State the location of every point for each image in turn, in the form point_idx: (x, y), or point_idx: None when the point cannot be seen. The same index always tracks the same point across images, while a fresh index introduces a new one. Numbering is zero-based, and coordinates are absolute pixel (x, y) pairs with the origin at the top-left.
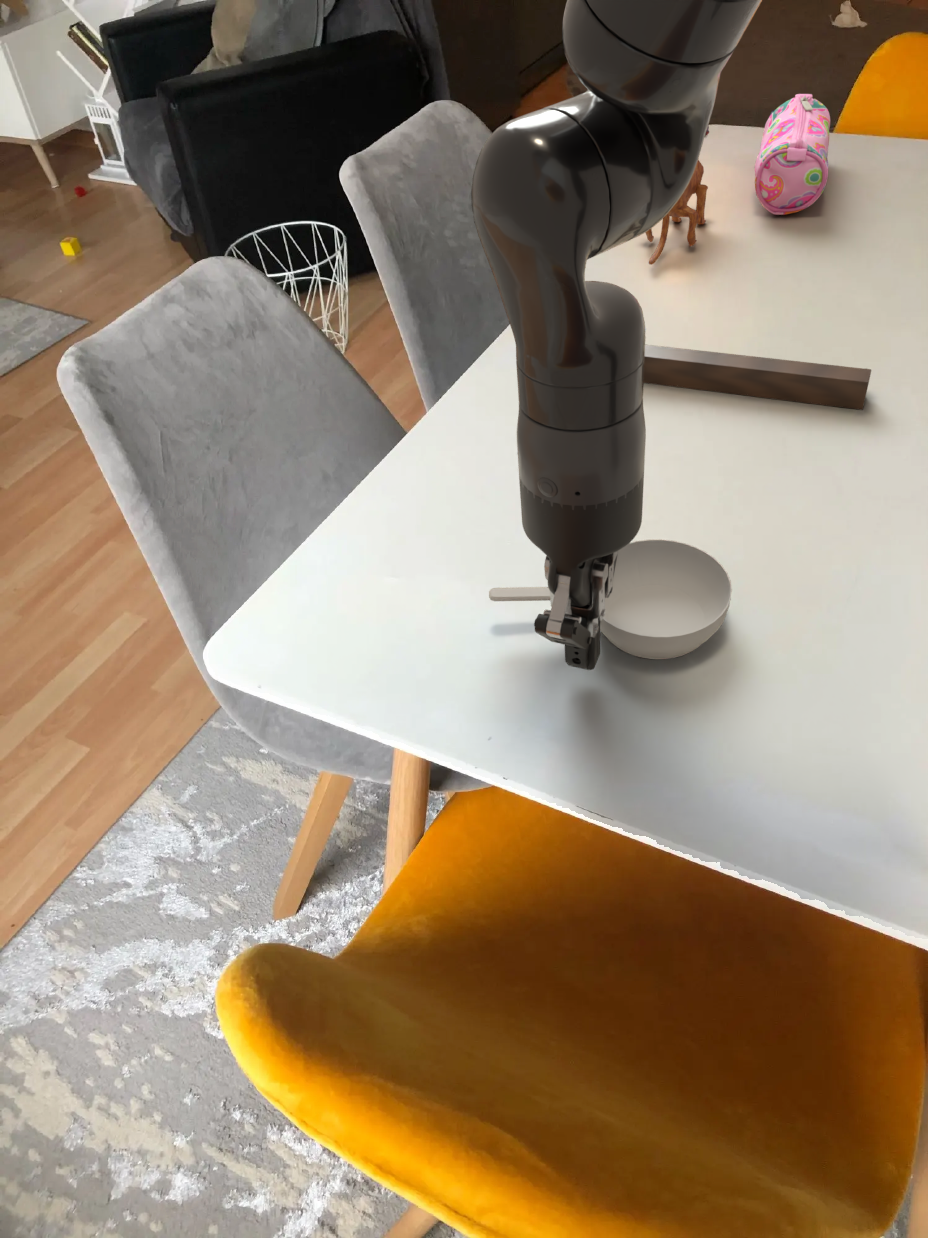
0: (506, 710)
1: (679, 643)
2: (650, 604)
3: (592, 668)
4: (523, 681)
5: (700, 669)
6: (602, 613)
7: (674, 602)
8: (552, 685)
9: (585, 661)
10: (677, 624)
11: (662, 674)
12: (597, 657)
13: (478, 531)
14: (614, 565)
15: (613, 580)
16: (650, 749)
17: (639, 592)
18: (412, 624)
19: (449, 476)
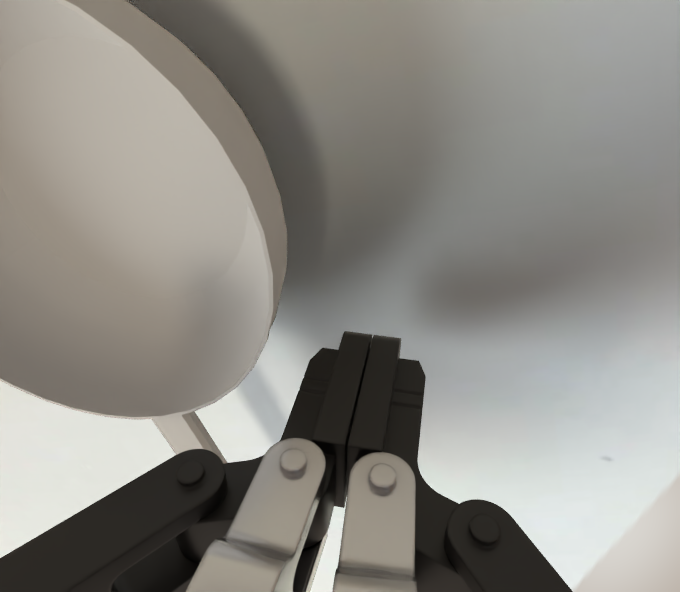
0: (519, 440)
1: (233, 125)
2: (81, 207)
3: (400, 341)
4: (428, 421)
5: (250, 5)
6: (302, 470)
7: (36, 145)
8: (426, 373)
9: (423, 393)
10: (109, 121)
11: (313, 128)
12: (368, 344)
13: (91, 503)
14: (92, 524)
15: (66, 310)
16: (642, 109)
17: (60, 239)
18: (336, 561)
19: (10, 537)
